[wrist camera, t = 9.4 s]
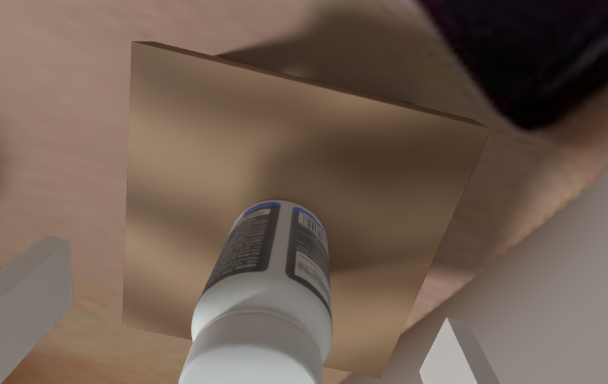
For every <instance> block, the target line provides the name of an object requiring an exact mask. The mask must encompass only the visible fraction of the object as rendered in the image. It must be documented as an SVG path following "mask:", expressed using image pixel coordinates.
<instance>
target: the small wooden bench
mask: <svg viewBox="0 0 608 384" xmlns="http://www.w3.org/2000/svg"><path fill="white" fill-rule="evenodd" d="M490 131H491V129H490V128H488V127H486V126H484V125H482V124H481V123H479V122H477V121H475V120H473V119H469V118H465V117H461V116H457V115H452V114H448V113H444V112H440V111H436V110H432V109H428V108H424V107H420V106H416V105H413V104H412V103H409V102H399V101H395V100H391V99H387V98H383V97H379V96H375V95H371V94H366V93H362V92H358V91H354V90H350V89H346V88H342V87H338V86H334V85H330V84H326V83H321V82H317V81H313V80H309V79H305V78H301V77H297V76H293V75H289V74H285V73H280V72H276V71H272V70H268V69H264V68H260V67H256V66H252V65H248V64H244V63H240V62H235V61H231V60H227V59H225V58H223V57H221V56H211V55H207V54H203V53H199V52H194V51H190V50H186V49H182V48H178V47H174V46H170V45H166V44H162V43H158V42H135V41H132V51H131V80H130V109H129V138H128V168H127V197H126V226H125V256H124V285H123V314H122V326H126V327H131V328H136V329H141V330H146V331H151V332H156V333H161V334H165V335H170V336H175V337H180V338H185V339H190V340H192V334H191V325H192V318H193V314H194V310H195V307H196V305H197V302H198V300H199V298H200V296H201V294H202V292H203V290H204V288H205V285H206V283H207V281H208V279H209V277H210V275H211V272H212V270H213V268H214V266H215V263H216V261H217V259H218V257H219V255H220V252H221V250H222V248H223V246H224V244H225V242H226V239H227V237H228V235H229V233H230V231H231V228H232V227H233V225H234V223H235V221H236V220H237V218H238V217H239V216H240V215H241V214H242V213H243V212H244V211H245V210H246V209H248V208H249V207H251V206H252V205H254V204H256V203H259V202H262V201H267V200H284V201H289V202H293V203H296V204H298V205H301V206H303V207H305V208H306V209H308V210H309V211H311V212H312V213H313V214H314V215H315V216H316V217H317V218H318V219H319V221H320V222H321V224H322V226H323V228H324V230H325V232H326V236H327V242H328V255H329V271H330V292H331V307H332V323H333V336H332V343H331V347H330V351H329V353H328V355H327V358H326V359H325V361H324V363H323V367H328V368H333V369H338V370H343V371H348V372H353V373H358V374H363V375H368V376H373V377H378V378H381V376H382V374H383V372H384V370H385V367H386V365H387V363H388V361H389V358H390V356H391V354H392V352H393V349H394V347H395V345H396V342H397V340H398V338H399V336H400V334H401V331H402V329H403V327H404V325H405V322H406V320H407V318H408V316H409V313H410V311H411V309H412V307H413V304H414V302H415V300H416V298H417V295H418V293H419V291H420V289H421V286H422V284H423V282H424V280H425V277H426V275H427V273H428V271H429V268H430V266H431V264H432V262H433V259H434V257H435V255H436V253H437V250H438V248H439V246H440V244H441V241H442V239H443V237H444V235H445V232H446V230H447V228H448V226H449V223H450V221H451V219H452V217H453V214H454V212H455V210H456V208H457V205H458V203H459V201H460V199H461V196H462V194H463V192H464V190H465V187H466V185H467V183H468V181H469V178H470V176H471V174H472V172H473V169H474V167H475V165H476V163H477V160H478V158H479V156H480V154H481V151H482V149H483V147H484V145H485V142H486V140H487V138H488V136H489V133H490Z"/></svg>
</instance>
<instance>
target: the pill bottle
mask: <svg viewBox="0 0 608 384" xmlns="http://www.w3.org/2000/svg"><path fill="white" fill-rule="evenodd" d="M191 334H192V340H193V344H192V346H191V348H190V351H189V354H188V356H187V359H186V362H185V364H184V367H183V369H182V372H181V375H180V379H179V383H178V384H323V363H324V361H325V359H326V358H327V355H328V353H329V351H330V347H331V343H332V336H333V323H332V307H331V292H330V271H329V255H328V242H327V236H326V232H325V230H324V228H323V226H322V224H321V222H320V221H319V219H318V218H317V217H316V216H315V215H314V214H313V213H312V212H311V211H309V210H308V209H306V208H305V207H303V206H301V205H298V204H296V203H293V202H289V201H284V200H267V201H262V202H259V203H256V204H254V205H252V206H251V207H249V208H248V209H246V210H245V211H244V212H243V213H242V214H241V215H240V216H239V217H238V218H237V220H236V221H235V223H234V225H233V227H232V228H231V231H230V233H229V235H228V237H227V239H226V242H225V244H224V246H223V248H222V250H221V252H220V255H219V257H218V259H217V261H216V263H215V266H214V268H213V270H212V272H211V275H210V277H209V279H208V281H207V283H206V285H205V288H204V290H203V292H202V294H201V296H200V298H199V300H198V302H197V305H196V307H195V310H194V314H193V318H192V325H191Z"/></svg>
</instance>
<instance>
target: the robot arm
mask: <svg viewBox="0 0 608 384" xmlns="http://www.w3.org/2000/svg"><path fill="white" fill-rule="evenodd" d="M72 304H73V296H72V274H71V252H70V240H66V239H61V238H57V237H52V236H47V235H46V236H45V237H43V238H42V239H41V240H39V241H38V242H37V243H35V244H34V245H33V246H31V247H30V248H29V249H27V250H26V251H25V252H23V253H22V254H21V255H19V256H18V257H17V258H15V259H14V260H12V261H11V262H10V263H8V264H7V265H6V266H4V267H3V268H2V269H0V384H1V383H2V382H3V381H4V380H5V379H6V377H7V376H8V375H9V374H10V373H11V372H12V371H13V370H14V369H15V367H16V366H17V365H18V364H19V363H20V362H21V361H22V360H23V359H24V357H25V356H26V355H27V354H28V353H29V352H30V351H31V350H32V349H33V348H34V346H35V345H36V344H37V343H38V342H39V341H40V340H41V339H42V338H43V336H44V335H45V334H46V333H47V332H48V331H49V330H50V329H51V328H52V327H53V325H54V324H55V323H56V322H57V321H58V320H59V319H60V318H61V317H62V315H63V314H64V313H65V312H66V311H67V310H68V309H69V308H70V307H71V306H72ZM420 375H421V378H422V381H423V384H500V382H499V381H498V379H497V377H496V375H495V373H494V371H493V369H492V367H491V366H490V364H489V362H488V360H487V358H486V356H485V354H484V352H483V350H482V348H481V347H480V345H479V343H478V341H477V339H476V337H475V335H474V333H473V331H472V330H471V328H470V326H469V324H468V322H467V321H462V320H458V319H453V318H448V317H447V318H446V320H445V322H444V324H443V326H442V328H441V329H440V332H439V334H438V335H437V337H436V339H435V341H434V343H433V345H432V347H431V349H430V351H429V353H428V355H427V357H426V359H425V361H424V363H423V365H422V367H421V369H420Z"/></svg>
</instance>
